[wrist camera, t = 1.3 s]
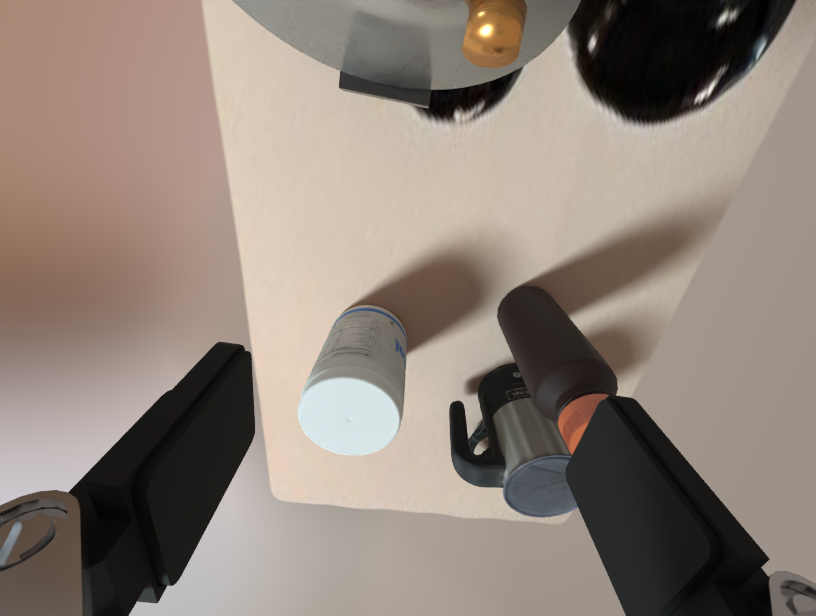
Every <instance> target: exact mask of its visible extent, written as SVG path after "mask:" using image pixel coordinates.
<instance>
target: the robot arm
mask: <svg viewBox="0 0 816 616" xmlns="http://www.w3.org/2000/svg"><path fill="white" fill-rule="evenodd" d="M252 380H253V379H252V359H251V353H250V352H248V351H245V348H244V346H243V345H240V344H232V343H225V342H218V343H216V344H215V345H214V346H213V347H212V348H211V349H210V350H209V351H208V352H207V354H206V355H205V356H204V357H203V358H202V359H201V360H200V361H199V362H198V363H197V364H196V365H195V366H194V367H193V368H192V369H191V370H190V371H189V372H188V373H187V375H186V376H185V377H184V378H183V379H182V380H181V381H180V382H179V383H178V384H177V385H176V386H175V387H174V388H173V389H172V390H170V391H167V392H166V393H165V394H164V395H162V396H161V397H160V398H159V399H158V400H157V401H156V402H155V403H154V404H153V406H152V407H151V408H150V409H149V410H148V411H147V412H146V413H145V414H144V415H143V416H142V417H141V418H140V419H139V420H138V421H137V422H136V423H135V424H134V425H133V426H132V427H131V428H130V429H129V430H128V431H127V432H126V433H125V434H124V435H123V437H121V439H120V440H119V441H118V442H117V443H116V444H115V445H114V446H113V447H112V448H111V449H110V450H109V451H108V452H107V453H106V454H105V455H104V456H103V457H102V458H101V459H100V460H99V461H98V462H97V463H96V464H95V465H94V466H93V467H92V468H91V469H90V471H89V472H88V473H87V474H86V475H85V476H84V477H83V478H82V479H81V480H80V481H79V482H78V483H77V484H76V485H75V486H74V487H73V488H72V489H71V490H70V491H69V492H63V491H57V490H52V491H40V492H36V493H32V494H28V495H25V496H21V497H19V498H16V499H14V500H12V501H9V502H7V503H5V504H2V505H1V506H0V616H128V615H129V613H130V612H131V610H132V608H133V607H134V605H135V604H136V602H137V601H139V602H149V603H158V601H159V600H160V598H161V596H162V594H163V592H164V591H165V589H166V587H167V585H169V586H173V585H174V584H175V583H176V582H177V581H178V580H179V578H180V577H181V575H182V573H183V571H184V569H185V568H186V566H187V564H188V562H189V560H190V558H191V556H192V554H193V553H194V551H195V549H196V547H197V545H198V543H199V541H200V539H201V537H202V535H203V534H204V531H205V530H206V528H207V526H208V524H209V522H210V520H211V518H212V517H213V515H214V512H215V511H216V509H217V507H218V505H219V503H220V501H221V500H222V497H223V496H224V494H225V492H226V490H227V488H228V486H229V484H230V483H231V481H232V478H233V477H234V475H235V473H236V471H237V469H238V467H239V465H240V464H241V462H242V460H243V458H244V456H245V454H246V452H247V450H248V449H249V447H250V445H251V443H252V440H253V437H254V434H255V416H254V398H253V381H252ZM565 476H566V480H567V483H568V485H569V488H570V490H571V492H572V494H573V497H574V499H575V501H576V503H577V506H578V508H579V510H580V513H581V515H582V517H583V519H584V521H585V524H586V526H587V528H588V530H589V533H590V535H591V537H592V540H593V542H594V544H595V546H596V549H597V551H598V553H599V555H600V558H601V560H602V562H603V565H604V567H605V569H606V571H607V573H608V576H609V578H610V580H611V582H612V585H613V587H614V589H615V592H616V594H617V596H618V598H619V601H620V603H621V605H622V608H623V610H624V612H625V614H626V616H816V584H815V583H813V582H811V581H809V580H807V579H805V578H804V577H801V576H800V575H797V574H794V573H790V572H787V571H776V572H774V573H773V574H771V575H770V576H769V577H768V576H767V574H766V573H765V572H764V571H763V569H762V568H761V567H762V566H763V565H764V564H765V563H766V562H767V561H768V560H769V558H768V557H767V555H766V554H765V553H764V552H763V551H762V549H761V548H760V547H759V546H758V545H757V544H756V542H755V541H754V540H753V539H752V537H751V536H750V535H749V534H748V533H747V532H746V530H745V529H744V528H743V527H742V526H741V524H740V523H739V522H738V521H737V520H736V519H735V517H734V516H733V515H732V514H731V513H730V511H729V510H728V509H727V508H726V507H725V505H724V504H723V503H722V502H721V501H720V499H719V498H718V497H717V496H716V495H715V493H714V492H713V491H712V490H711V489H710V487H709V486H708V485H707V484H706V483H705V482H704V480H703V479H702V478H701V477H700V476H699V474H698V473H697V472H696V471H695V470H694V468H693V467H692V466H691V465H690V464H689V462H688V461H687V460H686V459H685V458H684V457H683V455H682V454H681V453H680V452H679V451H678V449H677V448H676V447H675V446H674V445H673V443H672V442H671V441H670V440H669V439H668V438H667V436H666V435H665V434H664V433H663V432H662V430H661V429H660V428H659V427H658V426H657V425H656V423H655V422H654V421H653V420H652V418H651V417H650V416H649V415H648V414H647V413H646V411H645V410H644V409H643V408H642V407H641V405H640V404H639V403H638V402H637V401H636V400H635V399H633V398H629V397H622V396H614V395H610V396H608V397H606V398H605V400H601V401H600V402H599V404H598V406H597V407H596V409H595V411H594V413H593V415H592V417H591V419H590V421H589V423H588V425H587V427H586V429H585V431H584V433H583V435H582V437H581V439H580V441H579V443H578V445H577V447H576V449H575V451H574V453H573V454H572V456H571V458H570V460H569V462H568V464H567V466H566V470H565Z"/></svg>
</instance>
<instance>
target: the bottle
mask: <svg viewBox="0 0 816 616" xmlns="http://www.w3.org/2000/svg"><path fill="white" fill-rule="evenodd" d="M497 318H498V322H499V325H500V327H501V330H502V332H503V334H504V336H505V339H506V341H507V343H508V346H509V348H510V350H511V352H512V355H513V357H514V359H515V361H516V364H517V366H518V368H519V371H520V373H521V375H522V377H523V380H524V382H525V384H526V387H527V389H528V391H529V393H530V396H531V398H532V400H533V403H534V405H535V406H536V408H537V409H538V410H539V412H540V413H541V414H542V415H543V416H544V417H546V418H548V419H549V420H551V421H553V422H557V424H558V427H559V430H560V433H561V435H562V437H563V438H564V441H565V443H566V445H567V447H568V449H569V451H570V453H571V454H573V453H574V451H575V449H576V447H577V445H578V443H579V441H580V439H581V437H582V435H583V433H584V431H585V429H586V427H587V425H588V423H589V421H590V419H591V417H592V415H593V413H594V411H595V409H596V407H597V406H598V404H599V402H600V401H601V400H605V398H606V397H608V396H610V395H614V396H616V393H617V390H618V386H617V378H616V376H615V374H614V373H613V371H612V369H611V368H610V366H609V365H608V364H607V363H606V362H605V360H604V359H603V358H602V357H601V356H600V354H599V353H598V352H597V351H596V350H595V348H594V347H593V346H592V345H591V344H590V342H589V341H588V340H587V339H586V338H585V336H584V335H583V334H582V333H581V332H580V330H579V329H578V328H577V327H576V326H575V324H574V323H573V322H572V321H571V320H570V318H569V317H568V316H567V315H566V314H565V312H564V311H563V310H562V309H561V308H560V306H559V305H558V304H557V303H556V302H555V300H554V299H553V298H552V297H551V296H550V294H548V293H547V292H546V291H544V290H543V289H540V288H537V287H522V288H518V289H515V290H514V291H512V292H510V293H509V294H507V296H506V297H505V298H504V299H503V300H502V301H501V303H500V306H499V308H498V315H497Z"/></svg>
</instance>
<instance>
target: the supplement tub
mask: <svg viewBox="0 0 816 616" xmlns="http://www.w3.org/2000/svg"><path fill="white" fill-rule="evenodd" d="M406 353H407V336H406V332H405V329H404V327H403V325H402V324H401V322H400V321H399V319H398V318H397V317H396V316H395V315H394V314H392V313H391V312H389V311H388V310H386V309H384V308H381V307H378V306H373V305H360V306H356V307H353V308H350V309H348V310H347V311H345V312H344V313H342V314H341V315H340V316H339V317H338V318H337V319H336V321H335V323H334V325H333V327H332V329H331V331H330V333H329V335H328V337H327V339H326V341H325V344H324V346H323V348H322V350H321V352H320V354H319V356H318V359H317V361H316V363H315V365H314V367H313V369H312V372H311V374H310V376H309V378H308V380H307V382H306V385H305V387H304V389H303V392H302V395H301V400H300V402H299V406H298V417H299V421H300V424H301V427H302V428H303V430H304V432H305V433H306V434H307V436H308V437H309V438H310V439H311V440H312V441H314V442H315V443H316V444H318V445H319V446H321V447H323V448H325V449H327V450H329V451H331V452H334V453H338V454H343V455H365V454H370V453H373V452H376V451H378V450H380V449H382V448H384V447H385V446H387V445H388V444H389V443H390V442H391V441H392V440H393V439H394V438H395V436H396V435H397V433H398V431H399V428H400V423H401V419H402V415H403V405H404V389H405V371H406Z"/></svg>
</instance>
